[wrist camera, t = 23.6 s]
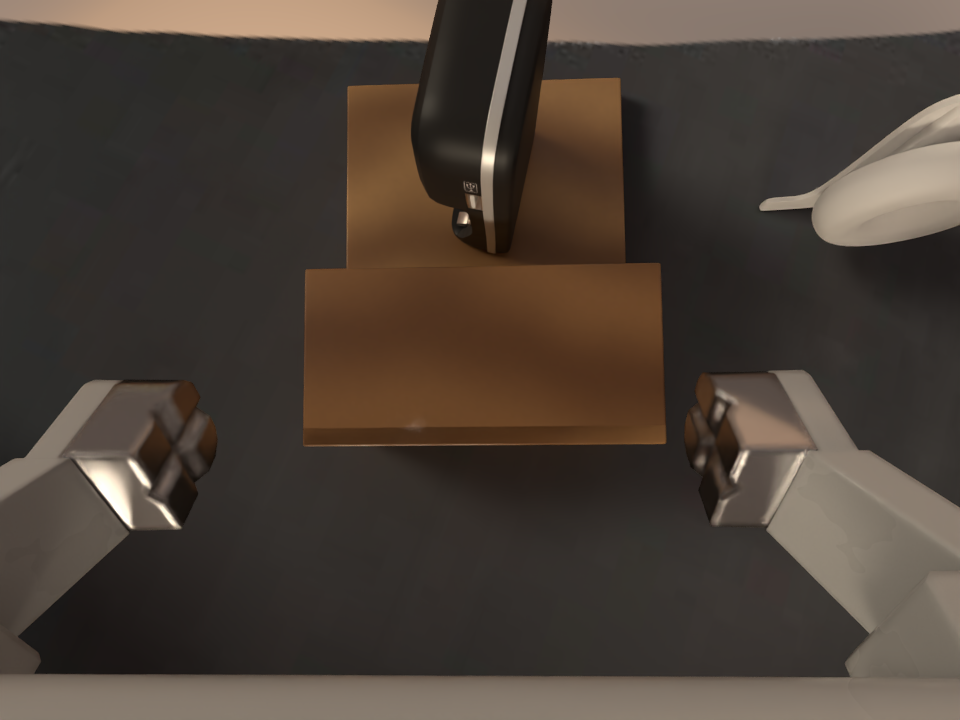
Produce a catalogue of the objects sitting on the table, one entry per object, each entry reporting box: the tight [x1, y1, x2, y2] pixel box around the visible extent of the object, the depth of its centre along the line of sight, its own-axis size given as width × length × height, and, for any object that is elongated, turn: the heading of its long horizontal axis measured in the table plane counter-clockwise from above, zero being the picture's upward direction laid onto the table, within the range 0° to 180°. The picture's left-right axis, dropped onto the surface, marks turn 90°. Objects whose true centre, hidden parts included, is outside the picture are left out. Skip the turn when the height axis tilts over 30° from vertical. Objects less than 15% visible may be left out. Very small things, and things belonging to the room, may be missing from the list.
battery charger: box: [411, 0, 552, 254], centre depth 23 cm, size 7×4×11 cm, turn 168°
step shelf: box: [303, 78, 666, 446], centre depth 26 cm, size 18×14×8 cm
